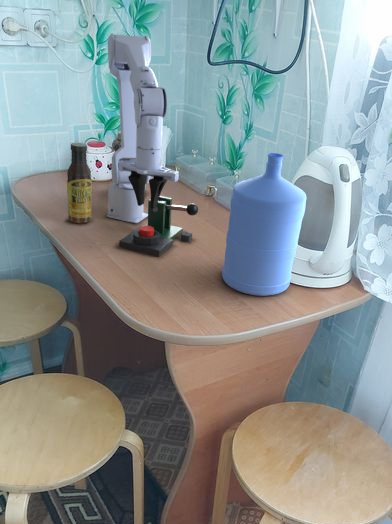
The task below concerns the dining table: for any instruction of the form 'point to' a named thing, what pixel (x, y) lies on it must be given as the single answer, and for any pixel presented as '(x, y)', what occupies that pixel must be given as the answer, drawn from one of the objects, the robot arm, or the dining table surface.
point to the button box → (146, 243)
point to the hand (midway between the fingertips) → (147, 206)
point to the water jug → (263, 232)
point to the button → (146, 231)
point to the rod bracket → (162, 219)
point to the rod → (182, 208)
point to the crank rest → (186, 237)
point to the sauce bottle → (79, 185)
